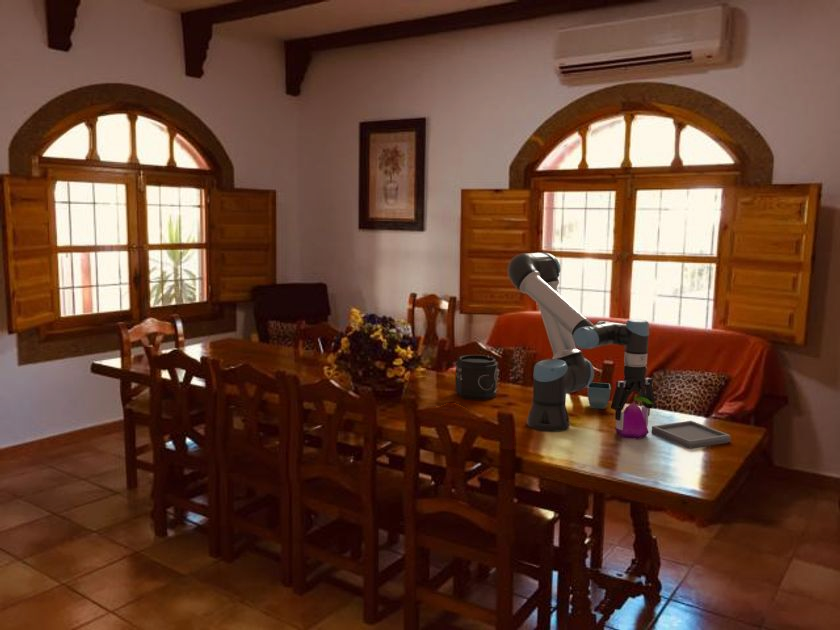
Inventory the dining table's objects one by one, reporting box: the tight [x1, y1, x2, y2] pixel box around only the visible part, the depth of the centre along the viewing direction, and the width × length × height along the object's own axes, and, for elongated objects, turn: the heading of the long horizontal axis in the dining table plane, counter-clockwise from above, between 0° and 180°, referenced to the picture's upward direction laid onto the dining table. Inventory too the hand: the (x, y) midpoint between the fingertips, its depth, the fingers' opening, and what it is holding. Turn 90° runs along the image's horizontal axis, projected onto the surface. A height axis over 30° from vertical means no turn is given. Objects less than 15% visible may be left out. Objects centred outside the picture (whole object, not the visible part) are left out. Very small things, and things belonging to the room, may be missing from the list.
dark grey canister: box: [454, 354, 499, 401], centre depth 301 cm, size 18×18×16 cm
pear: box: [614, 393, 653, 440], centre depth 250 cm, size 11×11×15 cm
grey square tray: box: [651, 420, 731, 450], centre depth 249 cm, size 18×18×2 cm
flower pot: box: [586, 381, 612, 410], centre depth 285 cm, size 9×9×9 cm
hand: (631, 427), depth 251 cm, fingers open, 10 cm apart
